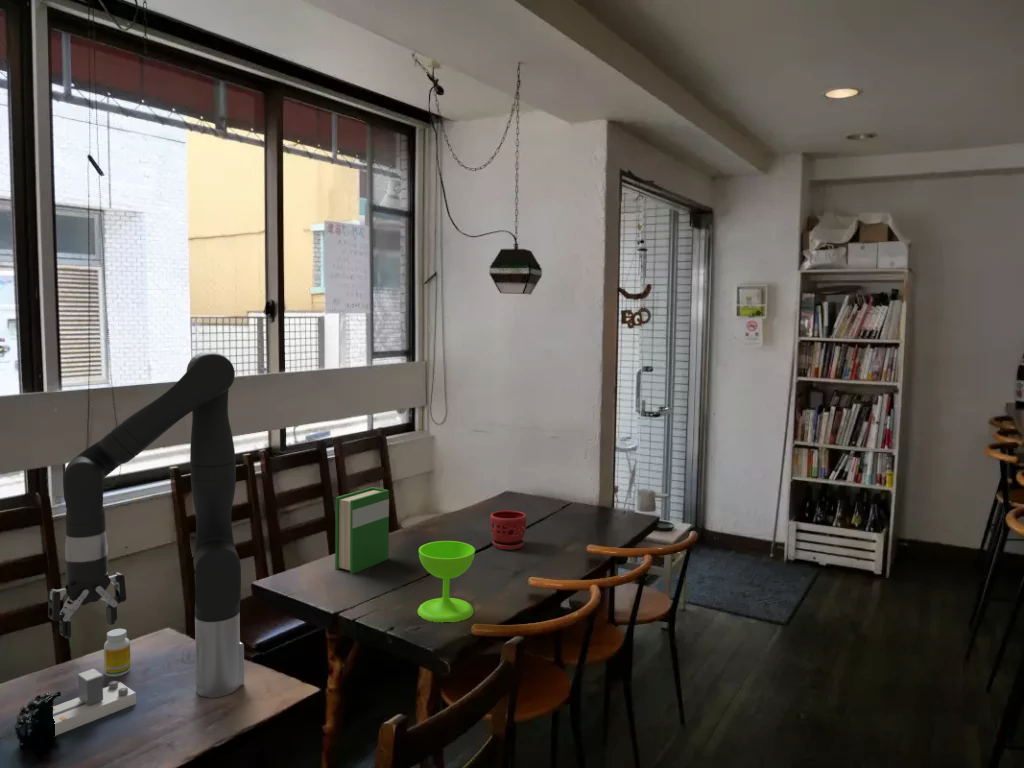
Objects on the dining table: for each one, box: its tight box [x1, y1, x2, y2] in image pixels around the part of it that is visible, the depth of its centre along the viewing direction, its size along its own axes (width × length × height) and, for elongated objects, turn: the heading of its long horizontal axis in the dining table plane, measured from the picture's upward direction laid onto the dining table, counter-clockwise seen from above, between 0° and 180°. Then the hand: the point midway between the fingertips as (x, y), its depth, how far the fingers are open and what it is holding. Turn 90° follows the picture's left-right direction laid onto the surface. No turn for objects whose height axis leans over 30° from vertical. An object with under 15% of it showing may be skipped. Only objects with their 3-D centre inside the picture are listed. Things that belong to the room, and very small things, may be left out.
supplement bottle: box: [103, 628, 131, 678], centre depth 173 cm, size 5×5×10 cm
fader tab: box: [78, 668, 104, 706], centre depth 156 cm, size 3×4×6 cm
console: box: [52, 680, 137, 737], centre depth 156 cm, size 16×7×4 cm, turn 142°
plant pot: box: [489, 510, 527, 551], centre depth 273 cm, size 13×13×12 cm
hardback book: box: [334, 486, 390, 575], centre depth 249 cm, size 18×7×24 cm, turn 149°
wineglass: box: [417, 540, 476, 624], centre depth 213 cm, size 16×16×18 cm
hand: (89, 630), depth 155 cm, fingers open, 8 cm apart
